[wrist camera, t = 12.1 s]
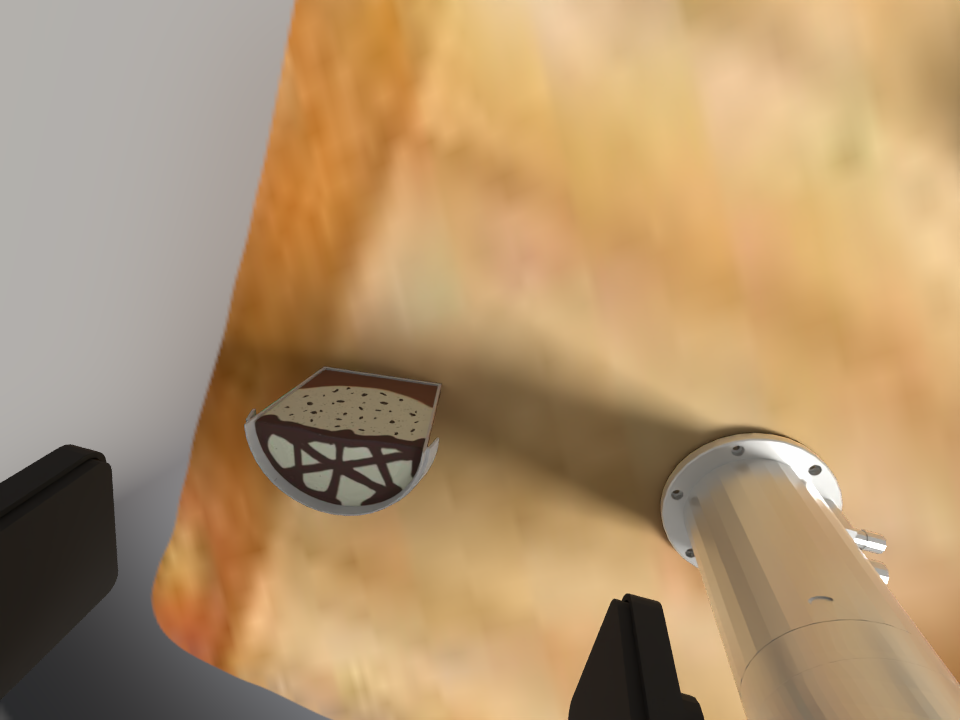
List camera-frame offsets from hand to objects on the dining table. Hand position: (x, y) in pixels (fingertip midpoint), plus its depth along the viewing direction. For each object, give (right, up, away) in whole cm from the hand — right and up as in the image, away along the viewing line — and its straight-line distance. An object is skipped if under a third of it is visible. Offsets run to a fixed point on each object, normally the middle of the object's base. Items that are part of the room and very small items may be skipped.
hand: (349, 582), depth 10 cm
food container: (-5, 0, +34) cm, 34 cm away
